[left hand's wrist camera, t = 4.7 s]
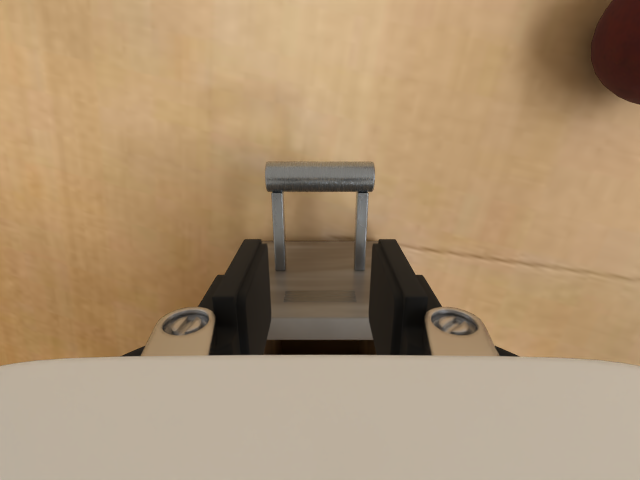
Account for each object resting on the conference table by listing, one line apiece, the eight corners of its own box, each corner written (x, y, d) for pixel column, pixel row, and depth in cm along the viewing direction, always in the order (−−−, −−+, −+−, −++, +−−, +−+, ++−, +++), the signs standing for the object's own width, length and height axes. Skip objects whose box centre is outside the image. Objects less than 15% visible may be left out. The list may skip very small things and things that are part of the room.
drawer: (246, 151, 22) (197, 181, 13) (393, 151, 22) (442, 181, 13) (265, 414, 30) (242, 545, 21) (374, 414, 30) (397, 545, 21)
